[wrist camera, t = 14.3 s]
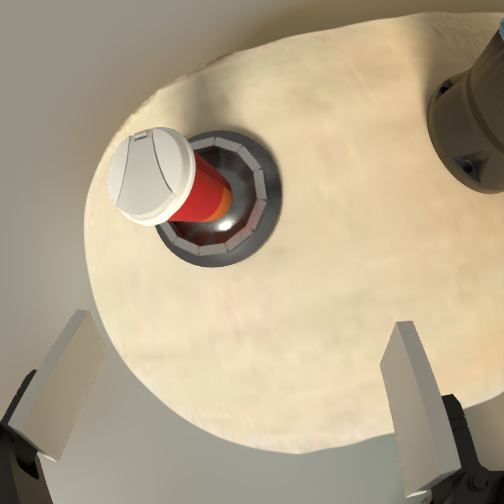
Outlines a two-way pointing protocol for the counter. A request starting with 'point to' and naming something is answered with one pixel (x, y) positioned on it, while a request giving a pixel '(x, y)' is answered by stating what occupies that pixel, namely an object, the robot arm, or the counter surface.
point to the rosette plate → (242, 207)
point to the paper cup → (165, 180)
